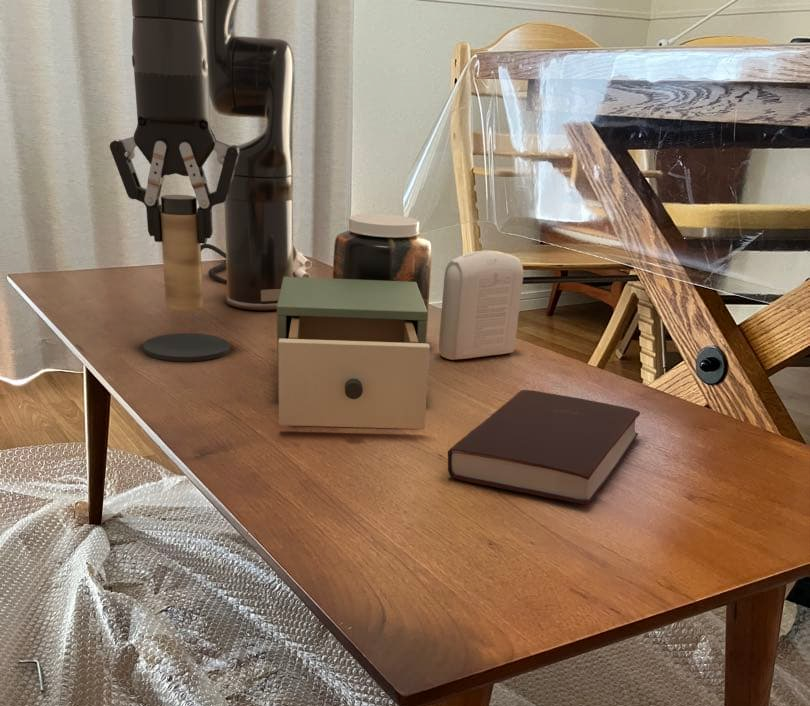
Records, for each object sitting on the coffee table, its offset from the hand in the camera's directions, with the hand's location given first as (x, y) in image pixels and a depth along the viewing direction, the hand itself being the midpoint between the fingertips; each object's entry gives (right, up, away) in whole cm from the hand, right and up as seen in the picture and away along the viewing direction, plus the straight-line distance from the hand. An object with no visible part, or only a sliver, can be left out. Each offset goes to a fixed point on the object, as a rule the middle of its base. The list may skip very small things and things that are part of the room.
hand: (180, 240), depth 102 cm
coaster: (-1, -11, +6) cm, 12 cm away
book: (+38, -26, -18) cm, 50 cm away
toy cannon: (+6, +9, +46) cm, 47 cm away
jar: (+22, -9, +12) cm, 27 cm away
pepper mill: (0, -7, +3) cm, 7 cm away
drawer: (+20, -20, -12) cm, 31 cm away
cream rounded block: (+34, -11, +11) cm, 37 cm away
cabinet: (+19, -16, -2) cm, 25 cm away
